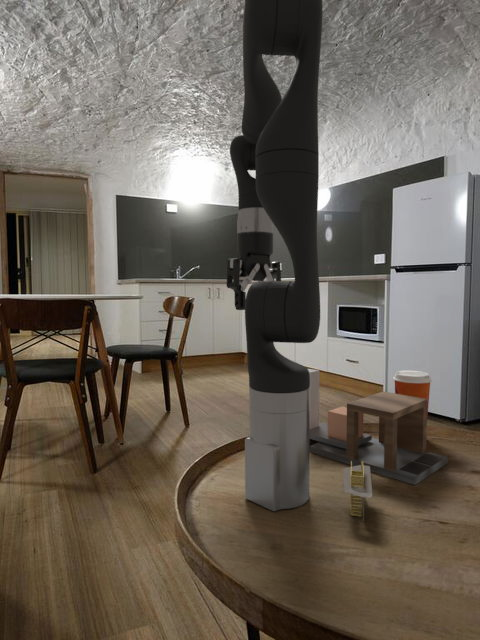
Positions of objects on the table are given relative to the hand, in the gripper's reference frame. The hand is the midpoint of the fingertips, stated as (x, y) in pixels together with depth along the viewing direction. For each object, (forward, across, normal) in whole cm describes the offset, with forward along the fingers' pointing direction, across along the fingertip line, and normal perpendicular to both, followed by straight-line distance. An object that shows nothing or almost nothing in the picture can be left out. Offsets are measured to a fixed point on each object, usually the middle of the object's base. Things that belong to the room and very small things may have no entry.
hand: (254, 309), depth 98 cm
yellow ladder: (+29, -12, -32) cm, 45 cm away
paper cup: (+27, +23, -24) cm, 43 cm away
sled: (+26, +8, -14) cm, 30 cm away
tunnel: (+28, +8, -24) cm, 38 cm away
